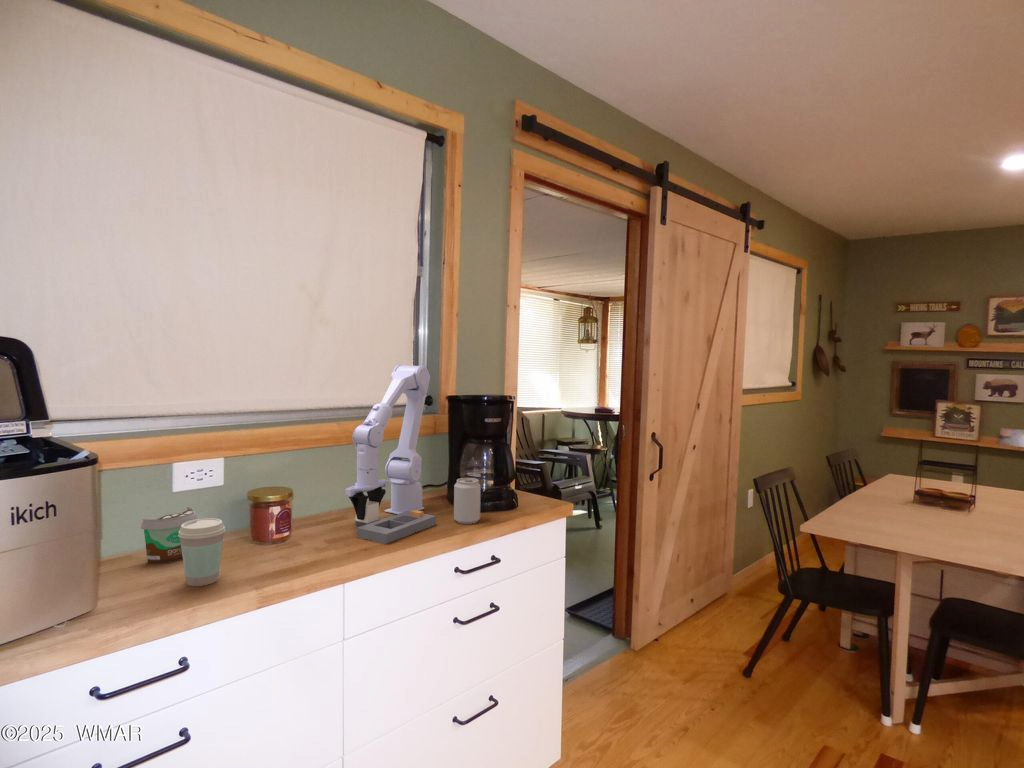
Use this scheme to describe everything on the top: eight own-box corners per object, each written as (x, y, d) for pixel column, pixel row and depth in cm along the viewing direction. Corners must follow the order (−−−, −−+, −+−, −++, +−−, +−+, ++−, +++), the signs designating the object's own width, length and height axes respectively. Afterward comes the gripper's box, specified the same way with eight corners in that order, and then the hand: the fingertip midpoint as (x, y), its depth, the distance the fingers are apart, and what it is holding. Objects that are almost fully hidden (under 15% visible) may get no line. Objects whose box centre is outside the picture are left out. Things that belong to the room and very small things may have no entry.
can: (482, 518, 169) (483, 477, 169) (476, 525, 162) (477, 482, 161) (457, 516, 171) (458, 476, 170) (450, 523, 163) (451, 481, 163)
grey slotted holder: (407, 519, 167) (407, 507, 167) (435, 524, 162) (435, 512, 162) (356, 537, 150) (356, 523, 150) (385, 544, 145) (385, 530, 145)
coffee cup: (205, 570, 125) (205, 515, 125) (235, 577, 122) (234, 520, 121) (168, 585, 117) (167, 526, 117) (199, 592, 114) (198, 531, 113)
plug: (367, 521, 164) (367, 500, 164) (379, 523, 162) (379, 502, 162) (355, 525, 161) (355, 503, 160) (367, 527, 158) (367, 505, 158)
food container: (161, 568, 126) (161, 522, 126) (141, 564, 128) (140, 519, 128) (209, 551, 138) (209, 509, 137) (189, 547, 140) (189, 506, 139)
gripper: (375, 463, 169) (375, 509, 170) (337, 470, 156) (336, 521, 157) (393, 465, 165) (393, 513, 166) (356, 474, 153) (356, 525, 153)
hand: (367, 517), depth 161 cm, fingers closed on plug, 4 cm apart
